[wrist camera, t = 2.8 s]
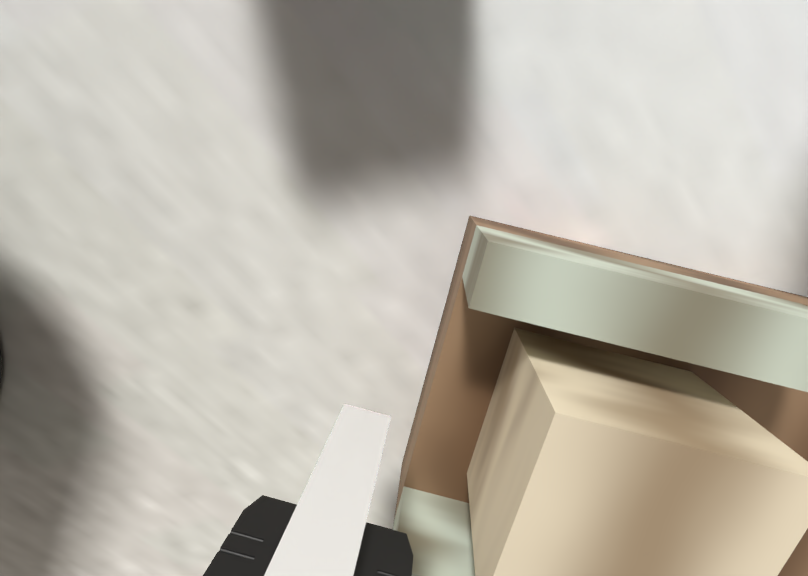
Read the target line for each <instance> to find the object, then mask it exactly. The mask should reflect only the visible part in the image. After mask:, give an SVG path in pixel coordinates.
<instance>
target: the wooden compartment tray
mask: <svg viewBox="0 0 808 576" xmlns="http://www.w3.org/2000/svg"><path fill="white" fill-rule="evenodd" d="M514 328H517V329H521V330H525V331H529V332H533V333H537V334H541V335H545V336H550V337H554V338H558V339H562V340H566V341H570V342H574V343H578V344H582V345H586V346H590V347H594V348H598V349H602V350H606V351H610V352H614V353H618V354H622V355H626V356H630V357H634V358H638V359H642V360H646V361H650V362H654V363H658V364H662V365H666V366H670V367H674V368H678V369H682V370H687V371H691V372H693V373H694V374H695V375H696V376H698V377H699V378H700V379H702V380H703V381H704V382H705V383H707V384H708V385H709V386H711V387H712V388H713V389H715V390H716V391H717V392H718V393H720V394H721V395H722V396H724V397H725V398H726V399H727V400H729V401H730V402H731V403H733V404H734V405H735V406H736V407H738V408H739V409H740V410H742V411H743V412H744V413H746V414H747V415H748V416H749V417H751V418H752V419H753V420H755V421H756V422H757V423H758V424H760V425H761V426H762V427H764V428H765V429H766V430H767V431H769V432H770V433H771V434H773V435H774V436H775V437H777V438H778V439H779V440H780V441H782V442H783V443H784V444H786V445H787V446H788V447H789V448H791V449H792V450H793V451H795V452H796V453H797V454H798V455H800V456H801V457H802V458H804V459H805V460H806V461H808V297H804V296H800V295H796V294H792V293H788V292H784V291H780V290H775V289H771V288H767V287H763V286H759V285H755V284H751V283H746V282H742V281H738V280H734V279H730V278H726V277H722V276H717V275H713V274H709V273H705V272H701V271H697V270H693V269H688V268H684V267H680V266H676V265H672V264H668V263H664V262H659V261H655V260H651V259H647V258H643V257H639V256H634V255H630V254H626V253H622V252H618V251H614V250H610V249H605V248H601V247H597V246H593V245H589V244H585V243H581V242H576V241H572V240H568V239H564V238H560V237H556V236H552V235H547V234H543V233H539V232H535V231H531V230H527V229H523V228H518V227H514V226H510V225H506V224H502V223H498V222H494V221H489V220H485V219H481V218H477V217H473V216H469V219H468V223H467V227H466V230H465V234H464V238H463V241H462V245H461V249H460V252H459V256H458V260H457V263H456V267H455V271H454V274H453V278H452V282H451V286H450V289H449V293H448V297H447V300H446V304H445V308H444V311H443V315H442V319H441V322H440V326H439V330H438V333H437V337H436V341H435V344H434V348H433V352H432V355H431V359H430V363H429V366H428V370H427V374H426V377H425V381H424V385H423V388H422V392H421V396H420V400H419V403H418V407H417V411H416V414H415V418H414V422H413V425H412V429H411V433H410V436H409V440H408V444H407V447H406V451H405V455H404V458H403V462H402V468H401V475H400V482H399V489H398V497H397V504H396V511H395V518H394V525H393V530H395V531H399V532H403V533H406V534H407V536H408V540H409V543H410V546H411V549H412V553H413V566H412V576H475V566H474V554H473V542H472V530H471V518H470V506H469V494H468V482H467V471H468V468H469V465H470V462H471V459H472V456H473V453H474V450H475V447H476V444H477V441H478V438H479V434H480V431H481V428H482V425H483V422H484V419H485V416H486V413H487V410H488V407H489V404H490V401H491V398H492V395H493V392H494V389H495V386H496V383H497V379H498V376H499V373H500V370H501V367H502V364H503V361H504V358H505V355H506V352H507V349H508V346H509V343H510V340H511V337H512V334H513V331H514ZM778 576H808V529H807V530H806V532H805V533H804V535H803V536H802V538H801V540H800V541H799V543H798V544H797V546H796V547H795V549H794V551H793V552H792V554H791V555H790V557H789V558H788V560H787V562H786V563H785V565H784V566H783V568H782V569H781V571H780V573H779V574H778Z"/></svg>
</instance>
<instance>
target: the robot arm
mask: <svg viewBox="0 0 808 576" xmlns="http://www.w3.org/2000/svg"><path fill="white" fill-rule="evenodd" d="M0 381H1V352H0ZM390 420H391V416H389V415H386V414H382V413H378V412H374V411H370V410H367V409H363V408H359V407H355V406H352V405H348V404H344V405H343V407H342V409H341V412H340V414H339V416H338V418H337V420H336V422H335V424H334V427H333V429H332V431H331V433H330V435H329V437H328V439H327V442H326V444H325V446H324V448H323V450H322V452H321V455H320V457H319V459H318V461H317V463H316V465H315V467H314V470H313V472H312V474H311V476H310V478H309V480H308V482H307V485H306V487H305V489H304V491H303V493H302V495H301V497H300V500H299V502H298V504H297V505H296V504H292V503H289V502H285V501H281V500H278V499H274V498H271V497H267V496H263V495H262V496H261V497H260V498H259V499H257V500H256V501H255V502H253V503H252V504H251V505H250V506H248V507H247V508H246V509H244V510H243V512H242V514H241V515H240V517H239V519H238V520H237V522H236V523H235V525H234V527H233V528H232V530H231V533H230V534H229V535H228V536H227V538H226V539H225V541H224V543H223V544H222V546H221V548H220V551H219V552H217V554H216V556H215V557H214V559H213V560H212V562H211V564H210V565H209V567H208V568H207V570H206V572H205V573H204V575H203V576H412V566H413V553H412V549H411V546H410V543H409V540H408V536H407V534H406V533H403V532H399V531H395V530H392V529H388V528H385V527H381V526H377V525H374V524H370V523H366V520H367V516H368V512H369V508H370V504H371V500H372V495H373V491H374V487H375V483H376V479H377V474H378V470H379V466H380V462H381V458H382V454H383V449H384V445H385V441H386V437H387V433H388V429H389V424H390Z"/></svg>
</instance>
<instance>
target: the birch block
mask: <svg viewBox="0 0 808 576" xmlns="http://www.w3.org/2000/svg"><path fill="white" fill-rule="evenodd" d="M467 482H468V494H469V506H470V518H471V530H472V542H473V554H474V566H475V576H778V574H779V573H780V571H781V569H782V568H783V566H784V565H785V563H786V562H787V560H788V558H789V557H790V555H791V554H792V552H793V551H794V549H795V547H796V546H797V544H798V543H799V541H800V540H801V538H802V536H803V535H804V533H805V532H806V530H807V529H808V461H806V460H805V459H804V458H802V457H801V456H800V455H798V454H797V453H796V452H795V451H793V450H792V449H791V448H789V447H788V446H787V445H786V444H784V443H783V442H782V441H780V440H779V439H778V438H777V437H775V436H774V435H773V434H771V433H770V432H769V431H767V430H766V429H765V428H764V427H762V426H761V425H760V424H758V423H757V422H756V421H755V420H753V419H752V418H751V417H749V416H748V415H747V414H746V413H744V412H743V411H742V410H740V409H739V408H738V407H736V406H735V405H734V404H733V403H731V402H730V401H729V400H727V399H726V398H725V397H724V396H722V395H721V394H720V393H718V392H717V391H716V390H715V389H713V388H712V387H711V386H709V385H708V384H707V383H705V382H704V381H703V380H702V379H700V378H699V377H698V376H696V375H695V374H694V373H693V372H691V371H687V370H682V369H678V368H674V367H670V366H666V365H662V364H658V363H654V362H650V361H646V360H642V359H638V358H634V357H630V356H626V355H622V354H618V353H614V352H610V351H606V350H602V349H598V348H594V347H590V346H586V345H582V344H578V343H574V342H570V341H566V340H562V339H558V338H554V337H550V336H545V335H541V334H537V333H533V332H529V331H525V330H521V329H517V328H514V331H513V334H512V337H511V340H510V343H509V346H508V349H507V352H506V355H505V358H504V361H503V364H502V367H501V370H500V373H499V376H498V379H497V383H496V386H495V389H494V392H493V395H492V398H491V401H490V404H489V407H488V410H487V413H486V416H485V419H484V422H483V425H482V428H481V431H480V434H479V438H478V441H477V444H476V447H475V450H474V453H473V456H472V459H471V462H470V465H469V468H468V471H467Z"/></svg>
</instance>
